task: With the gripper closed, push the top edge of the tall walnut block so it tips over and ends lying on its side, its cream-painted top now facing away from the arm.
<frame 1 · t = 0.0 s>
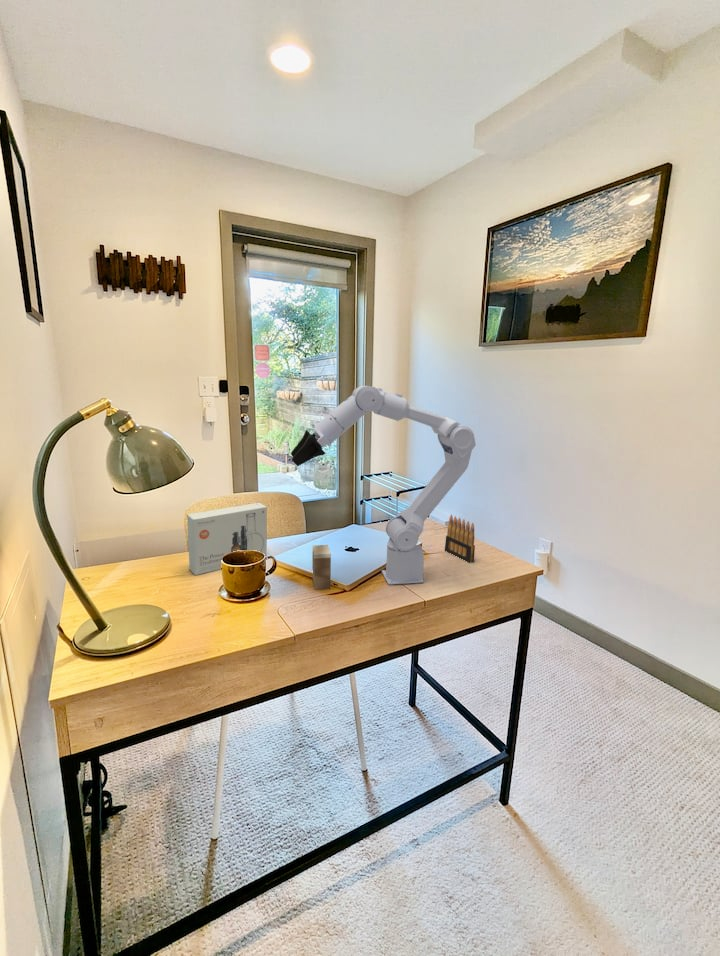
hand: (293, 459, 106), 32 cm above the table, tool tilted 50°, fingers open, 7 cm apart
skincare box: (230, 564, 124), on the table
ammunition clip: (458, 556, 134), on the table
walnut block: (321, 584, 113), on the table
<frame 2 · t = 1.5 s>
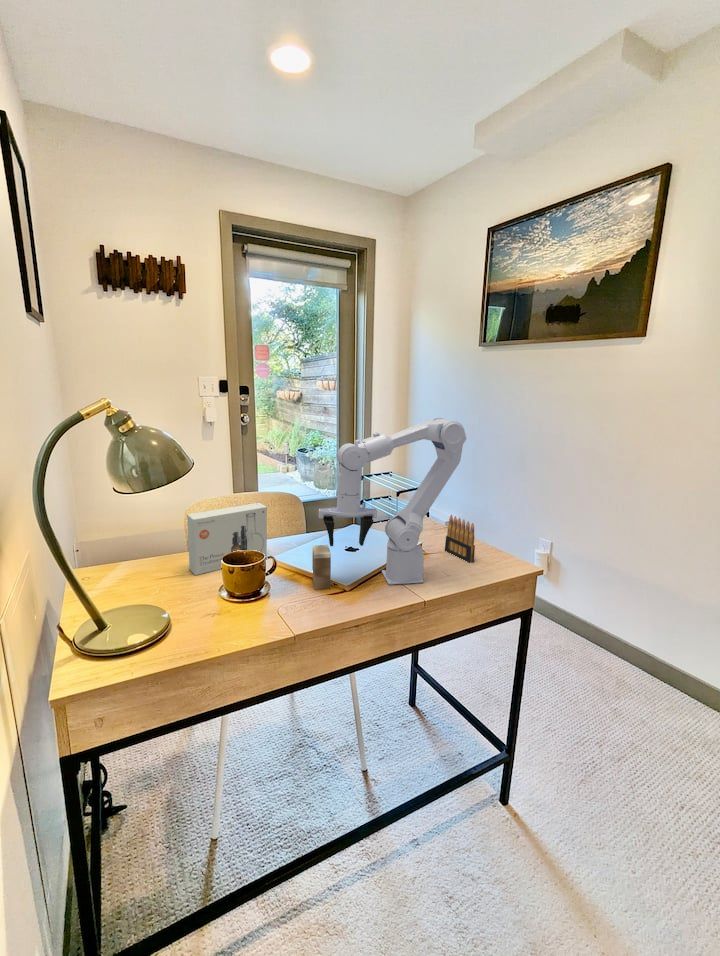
hand: (346, 544, 112), 10 cm above the table, tool pointing down, fingers open, 7 cm apart
nothing on the table moved.
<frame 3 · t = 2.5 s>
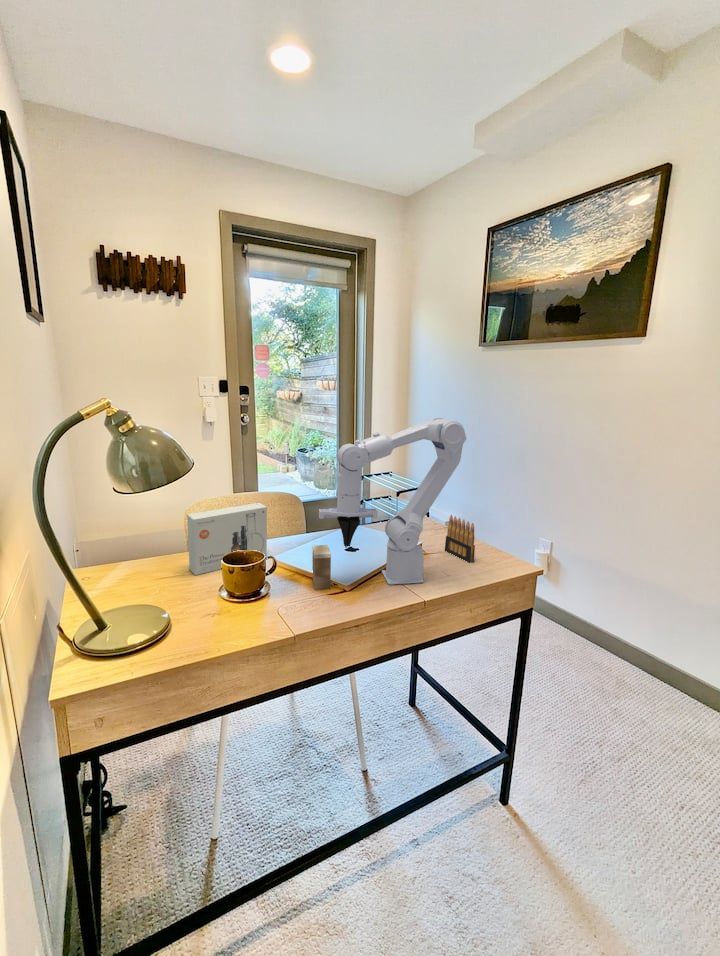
hand: (346, 544, 112), 10 cm above the table, tool pointing down, fingers closed
nothing on the table moved.
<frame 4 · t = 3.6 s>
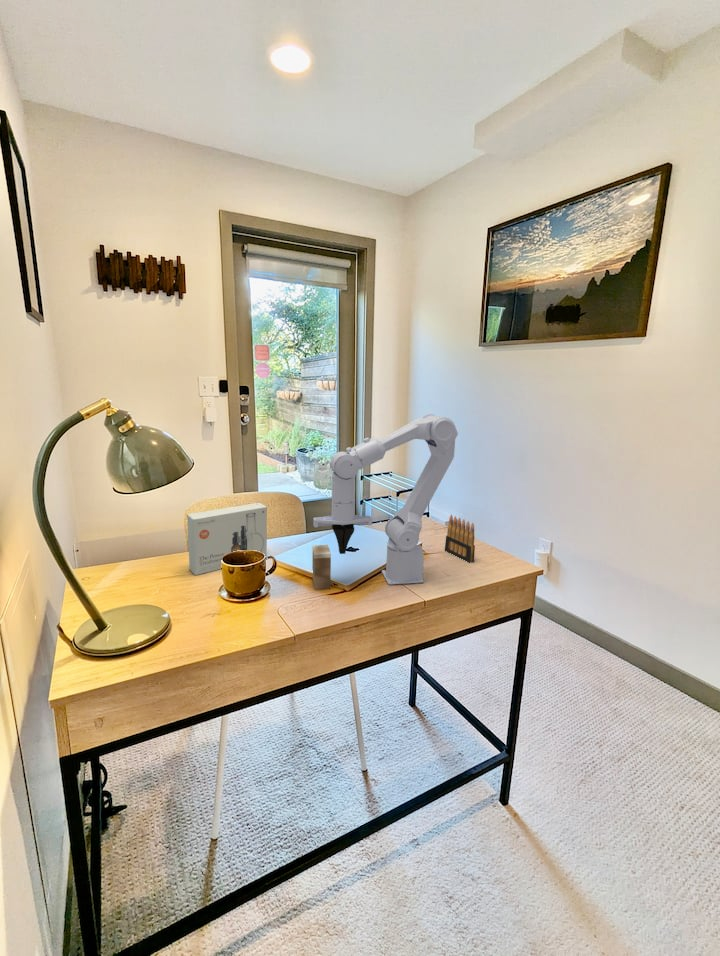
hand: (342, 552, 112), 8 cm above the table, tool pointing down, fingers closed
nothing on the table moved.
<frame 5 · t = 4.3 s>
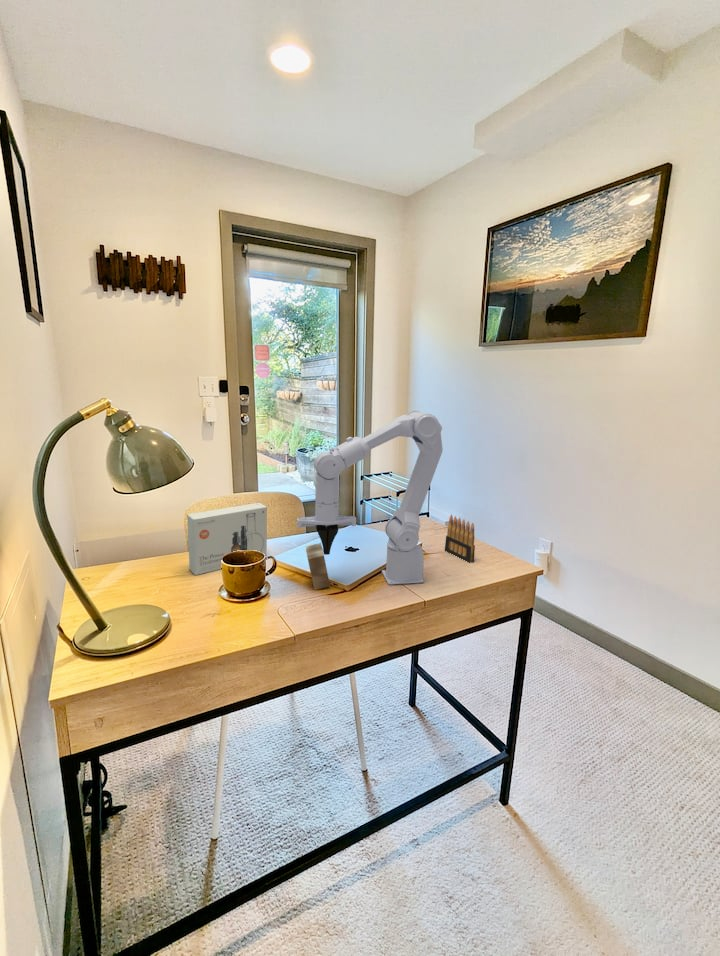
hand: (326, 553, 112), 8 cm above the table, tool pointing down, fingers closed
walnut block: (321, 582, 113), on the table, tilted 11°
everything else where it was.
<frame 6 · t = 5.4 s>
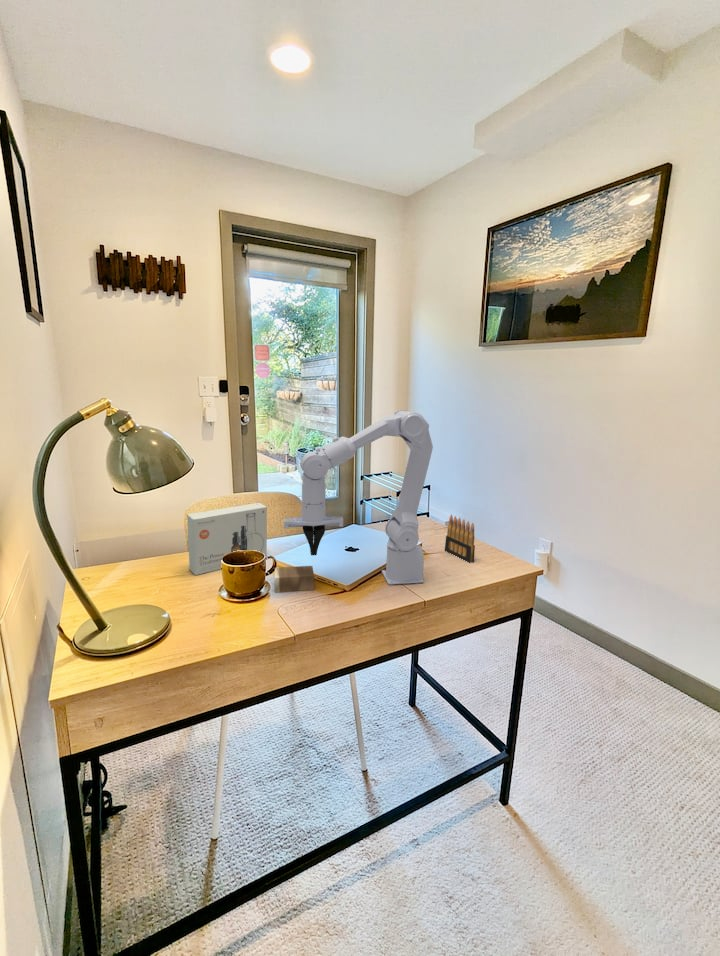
hand: (313, 553, 111), 8 cm above the table, tool pointing down, fingers closed
walnut block: (313, 577, 113), point 2 cm above the table, tilted 90°
everything else where it was.
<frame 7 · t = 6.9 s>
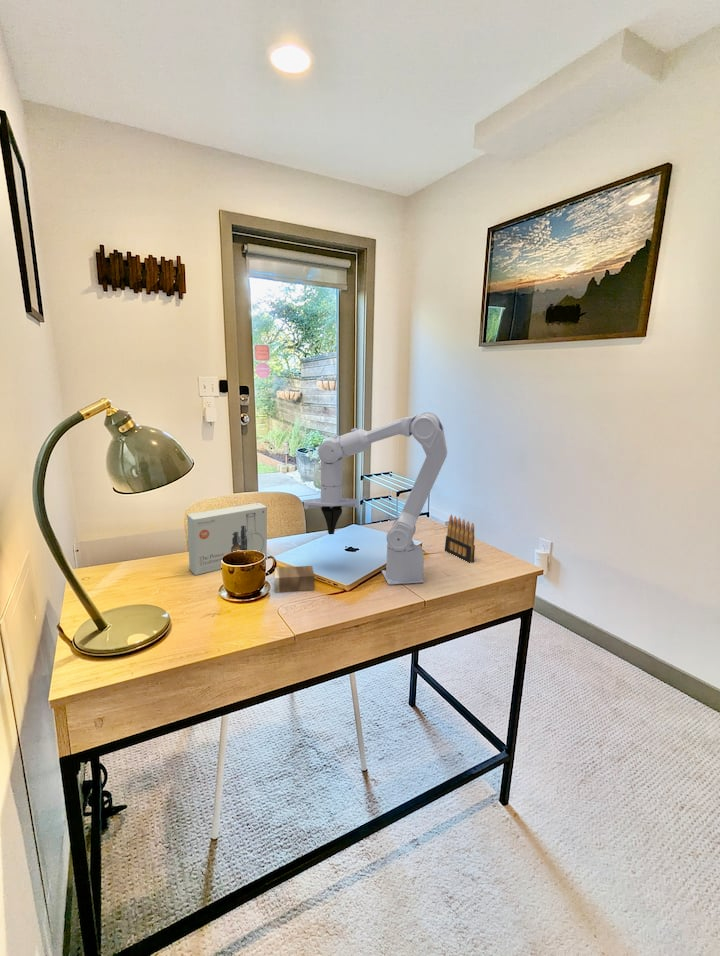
hand: (330, 533, 120), 10 cm above the table, tool pointing down, fingers closed
nothing on the table moved.
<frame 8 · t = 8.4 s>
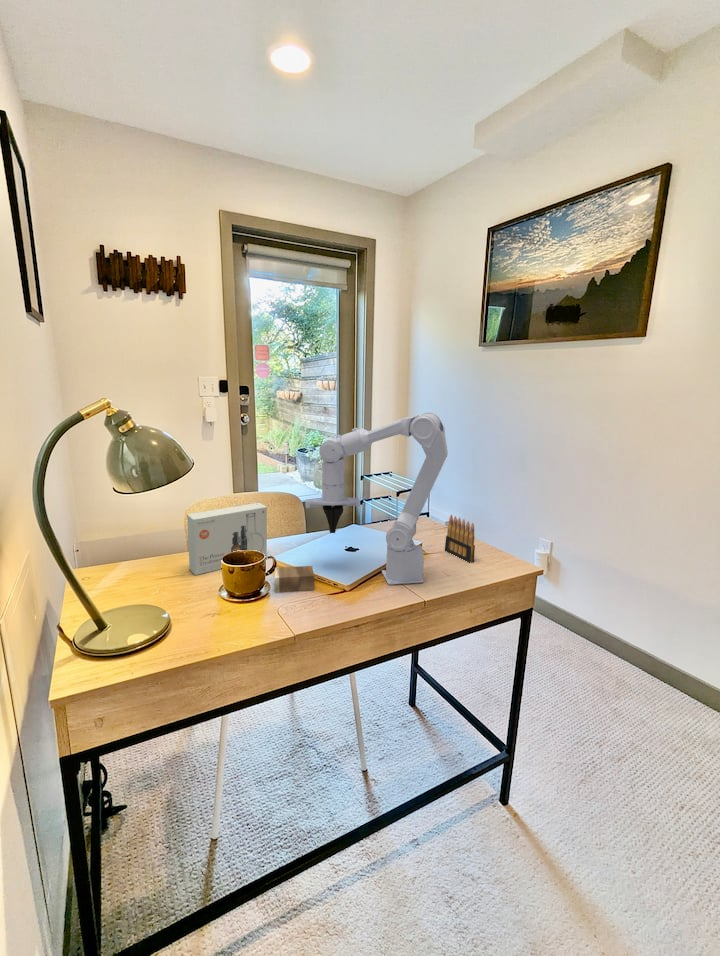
hand: (332, 531, 121), 10 cm above the table, tool pointing down, fingers closed
nothing on the table moved.
at the end: walnut block tilted 90°; walnut block inside the target area (4.4 cm from its centre), point 1.9 cm above the table; the gripper is holding nothing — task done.
